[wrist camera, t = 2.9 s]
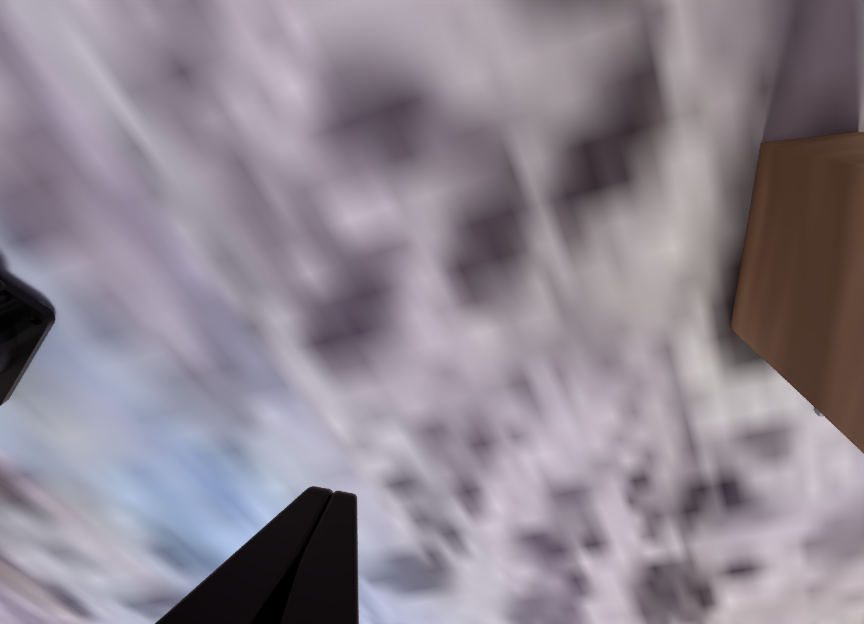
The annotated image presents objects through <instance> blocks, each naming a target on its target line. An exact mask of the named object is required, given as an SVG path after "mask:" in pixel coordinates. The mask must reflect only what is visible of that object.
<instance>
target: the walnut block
mask: <svg viewBox="0 0 864 624" xmlns="http://www.w3.org/2000/svg"><path fill="white" fill-rule="evenodd" d="M730 328H731V329H732V330H733V331H734V332H735V333H737V334H738V335H739V336H740V337H741V338H742V339H743V340H744V341H745V342H746V343H747V344H748V345H749V346H750V347H751V348H752V349H753V350H755V351H756V352H757V353H758V354H759V355H760V356H761V357H762V358H763V359H764V360H765V361H766V362H767V363H768V364H769V365H770V366H772V367H773V368H774V369H775V370H776V371H777V372H778V373H779V374H780V375H781V376H782V377H783V378H784V379H785V380H786V381H787V382H789V383H790V384H791V385H792V386H793V387H794V388H795V389H796V390H797V391H798V392H799V393H800V394H801V395H802V396H803V397H804V398H806V399H807V400H808V401H809V402H810V403H811V404H812V405H813V406H814V407H815V408H816V409H817V410H818V411H819V412H820V413H821V414H823V415H824V416H825V417H826V418H827V419H828V420H829V421H830V422H831V423H832V424H833V425H834V426H835V427H836V428H837V429H838V430H839V431H841V432H842V433H843V434H844V435H845V436H846V437H847V438H848V439H849V440H850V441H851V442H852V443H853V444H854V445H855V446H856V447H858V448H859V449H860V450H861V451H862V452H863V453H864V132H851V133H843V134H834V135H826V136H817V137H809V138H800V139H791V140H783V141H774V142H766V143H761V146H760V152H759V158H758V164H757V170H756V176H755V182H754V188H753V194H752V200H751V206H750V212H749V218H748V224H747V230H746V236H745V242H744V248H743V254H742V260H741V266H740V272H739V279H738V285H737V291H736V297H735V303H734V309H733V315H732V321H731V327H730Z"/></svg>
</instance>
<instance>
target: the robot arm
mask: <svg viewBox="0 0 864 624" xmlns="http://www.w3.org/2000/svg"><path fill="white" fill-rule="evenodd" d="M38 316H39V317H40V318H41V319H40V318H38ZM54 322H55V316H54V314H53V313H52V311H51V310H50V309H48V308H47V307H46V306H44V305H43V304H41V303H39V302H38V301H36V300H35V299H33V298H32V297H30V296H29V295H27V294H26V293H24V292H23V291H21V290H19V289H18V288H16V287H15V286H13V285H12V284H10V283H9V282H7V281H6V280H4V279H2V278H1V277H0V406H1V405H2V404H3V403H5V402H6V401H7V400H9V398H10V396H11V395H12V393H13V391H14V390H15V388H16V386H17V385H18V383H19V381H20V380H21V378H22V376H23V374H24V373H25V371H26V369H27V368H28V366H29V364H30V363H31V361H32V359H33V358H34V356H35V354H36V353H37V351H38V349H39V348H40V346H41V344H42V343H43V341H44V339H45V338H46V336H47V334H48V332H49V331H50V329H51V327H52V326H53V324H54ZM155 624H359V609H358V535H357V496H356V495H355V494H353V493H348V492H342V491H335V492H334V493H333V491H332V490H330V489H326V488H321V487H315V486H312V487H309V488H308V489H306V490H305V491H304V492H303V493H302V494H301V495H300V496H298V497H297V498H296V499H295V500H294V501H293V502H292V503H291V504H289V505H288V506H287V507H286V508H285V509H284V510H283V511H282V512H280V513H279V514H278V515H277V516H276V517H275V518H274V519H272V520H271V521H270V522H269V523H268V524H267V525H266V526H265V527H263V528H262V529H261V530H260V531H259V532H258V533H257V534H256V535H254V536H253V537H252V538H251V539H250V540H249V541H248V542H247V543H245V544H244V545H243V546H242V547H241V548H240V549H239V550H238V551H236V552H235V553H234V554H233V555H232V556H231V557H230V558H229V559H227V560H226V561H225V562H224V563H223V564H222V565H221V566H219V567H218V568H217V569H216V570H215V571H214V572H213V573H212V574H210V575H209V576H208V577H207V578H206V579H205V580H204V581H203V582H201V583H200V584H199V585H198V586H197V587H196V588H195V589H194V590H192V591H191V592H190V593H189V594H188V595H187V596H186V597H185V598H183V599H182V600H181V601H180V602H179V603H178V604H177V605H175V606H174V607H173V608H172V609H171V610H170V611H169V612H168V613H166V614H165V615H164V616H163V617H162V618H161V619H160V620H159V621H157V622H156V623H155Z"/></svg>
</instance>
